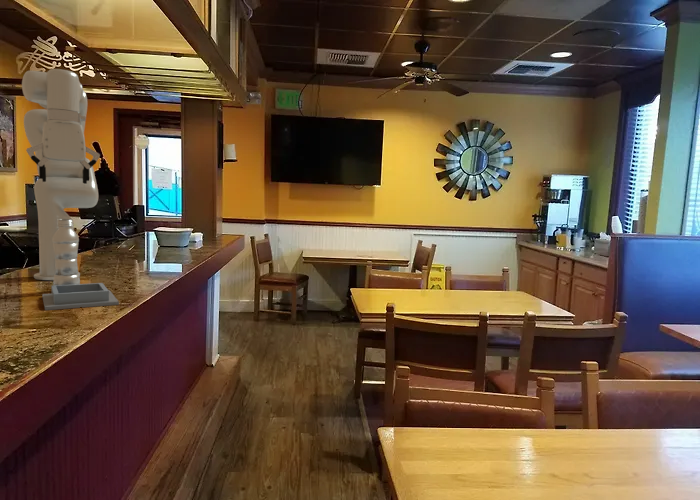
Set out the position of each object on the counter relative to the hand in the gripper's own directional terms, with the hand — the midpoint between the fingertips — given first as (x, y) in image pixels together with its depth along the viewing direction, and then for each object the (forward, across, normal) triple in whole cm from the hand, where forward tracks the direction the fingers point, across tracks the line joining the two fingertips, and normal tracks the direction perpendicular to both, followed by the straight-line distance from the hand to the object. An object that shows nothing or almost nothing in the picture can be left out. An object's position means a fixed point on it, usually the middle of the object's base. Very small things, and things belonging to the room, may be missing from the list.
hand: (64, 182), depth 137 cm
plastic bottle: (+30, 0, 0) cm, 30 cm away
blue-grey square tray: (+30, -2, +14) cm, 33 cm away
